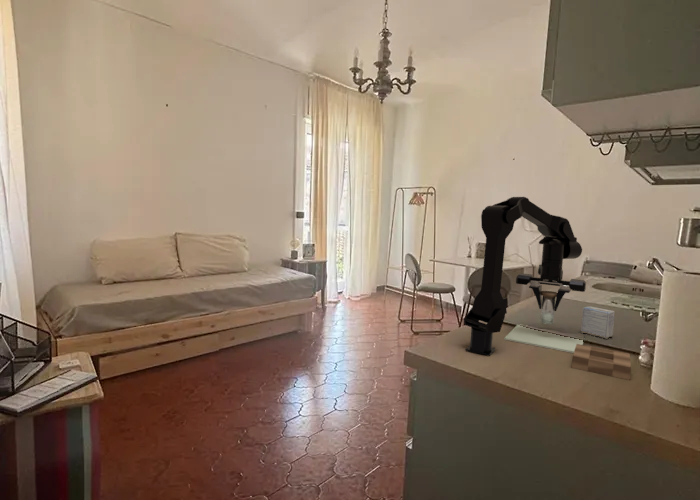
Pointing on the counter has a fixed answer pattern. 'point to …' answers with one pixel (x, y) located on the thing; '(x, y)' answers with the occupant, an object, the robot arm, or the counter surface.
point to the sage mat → (543, 339)
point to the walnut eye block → (602, 361)
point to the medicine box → (598, 321)
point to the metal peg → (548, 306)
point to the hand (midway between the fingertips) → (547, 309)
